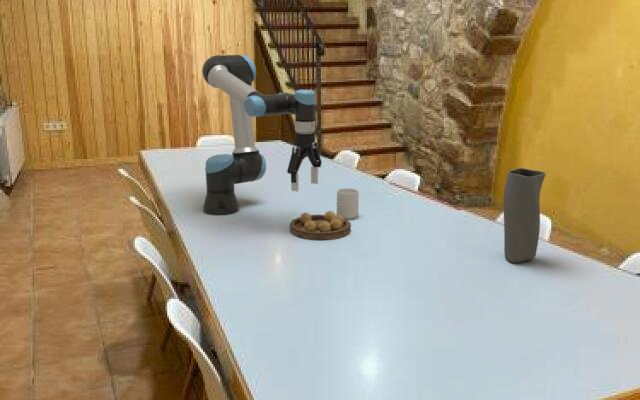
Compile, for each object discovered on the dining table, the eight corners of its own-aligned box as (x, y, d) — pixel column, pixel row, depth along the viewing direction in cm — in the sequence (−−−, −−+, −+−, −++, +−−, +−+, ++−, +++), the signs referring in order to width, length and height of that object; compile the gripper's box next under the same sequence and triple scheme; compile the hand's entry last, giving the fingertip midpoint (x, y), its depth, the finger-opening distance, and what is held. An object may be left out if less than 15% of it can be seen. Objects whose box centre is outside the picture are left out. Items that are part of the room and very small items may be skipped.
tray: (278, 233, 222) (278, 226, 221) (311, 218, 241) (311, 211, 240) (330, 244, 210) (330, 237, 209) (360, 227, 229) (360, 220, 228)
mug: (360, 219, 239) (361, 193, 236) (340, 220, 237) (340, 194, 234) (351, 211, 251) (352, 186, 248) (332, 212, 248) (332, 187, 245)
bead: (297, 225, 228) (297, 213, 227) (304, 222, 231) (303, 210, 230) (307, 226, 225) (307, 215, 224) (313, 223, 229) (313, 212, 228)
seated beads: (301, 232, 219) (301, 221, 217) (327, 220, 234) (327, 209, 233) (328, 238, 213) (328, 226, 211) (353, 225, 228) (353, 213, 227)
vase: (517, 268, 189) (527, 178, 181) (490, 256, 199) (498, 170, 191) (544, 262, 194) (555, 174, 186) (517, 250, 205) (525, 166, 197)
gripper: (294, 137, 207) (294, 195, 213) (330, 128, 227) (330, 181, 233) (277, 135, 211) (277, 192, 216) (314, 127, 231) (314, 179, 237)
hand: (304, 187), depth 225 cm, fingers open, 13 cm apart
